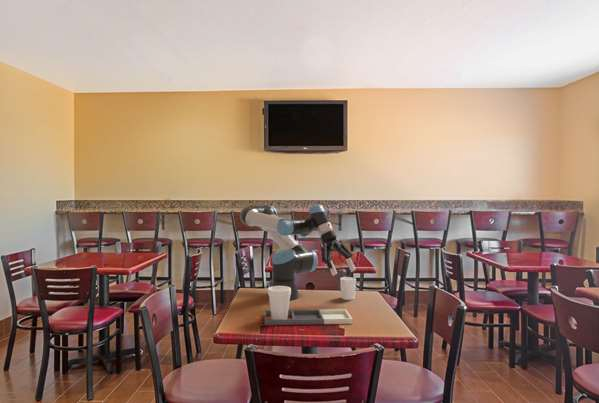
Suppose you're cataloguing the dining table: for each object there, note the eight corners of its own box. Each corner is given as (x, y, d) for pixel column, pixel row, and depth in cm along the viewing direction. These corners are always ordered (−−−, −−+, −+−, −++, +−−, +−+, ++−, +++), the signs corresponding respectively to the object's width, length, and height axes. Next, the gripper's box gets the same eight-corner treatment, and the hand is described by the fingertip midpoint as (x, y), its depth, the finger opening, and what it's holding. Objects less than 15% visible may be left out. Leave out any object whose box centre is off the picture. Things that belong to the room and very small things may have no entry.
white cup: (337, 299, 199) (337, 279, 199) (343, 295, 206) (343, 276, 206) (352, 301, 195) (352, 280, 195) (357, 297, 202) (358, 278, 202)
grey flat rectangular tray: (264, 325, 158) (264, 320, 158) (264, 315, 171) (264, 310, 171) (352, 323, 161) (352, 318, 161) (345, 313, 174) (345, 309, 174)
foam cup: (291, 316, 169) (292, 286, 169) (289, 323, 160) (289, 291, 160) (269, 315, 170) (270, 285, 170) (265, 322, 161) (266, 290, 161)
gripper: (313, 231, 187) (331, 273, 180) (347, 228, 205) (365, 266, 197) (304, 239, 192) (321, 279, 184) (338, 235, 209) (355, 272, 201)
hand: (344, 272), depth 190 cm, fingers open, 13 cm apart
